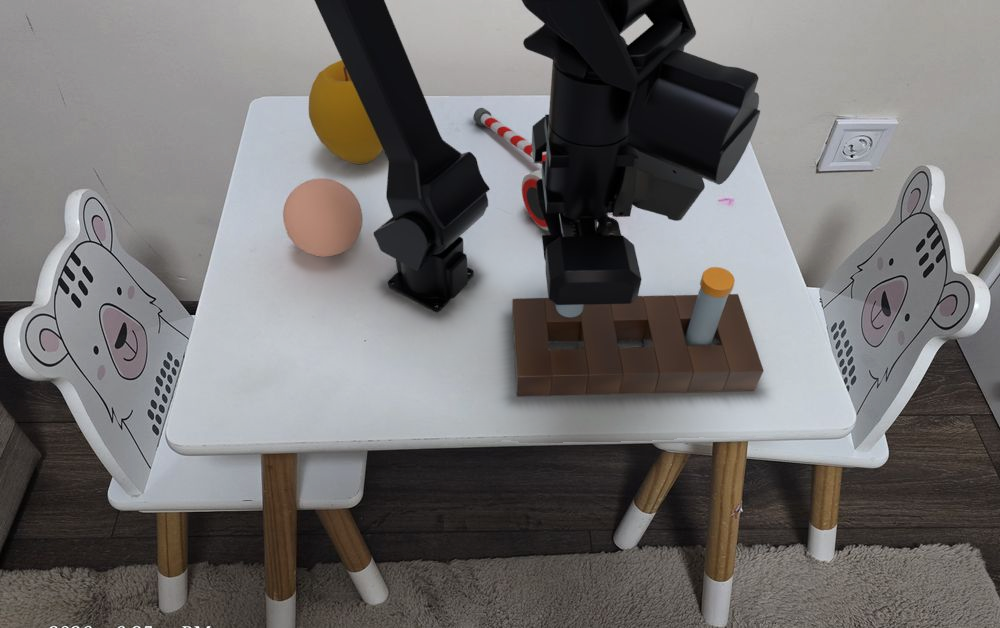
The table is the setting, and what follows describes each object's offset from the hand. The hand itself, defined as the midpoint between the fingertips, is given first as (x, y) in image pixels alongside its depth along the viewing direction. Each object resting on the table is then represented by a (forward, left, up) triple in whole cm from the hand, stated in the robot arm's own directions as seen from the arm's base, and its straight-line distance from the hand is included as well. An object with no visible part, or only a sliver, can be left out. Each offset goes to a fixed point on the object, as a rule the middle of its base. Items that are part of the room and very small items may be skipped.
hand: (571, 279), depth 63 cm
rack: (+5, +4, -10) cm, 12 cm away
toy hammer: (-15, +21, -10) cm, 28 cm away
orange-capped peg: (+10, +7, -10) cm, 16 cm away
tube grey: (0, 0, -4) cm, 4 cm away
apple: (-36, +13, -10) cm, 39 cm away
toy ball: (-28, -1, -10) cm, 30 cm away
